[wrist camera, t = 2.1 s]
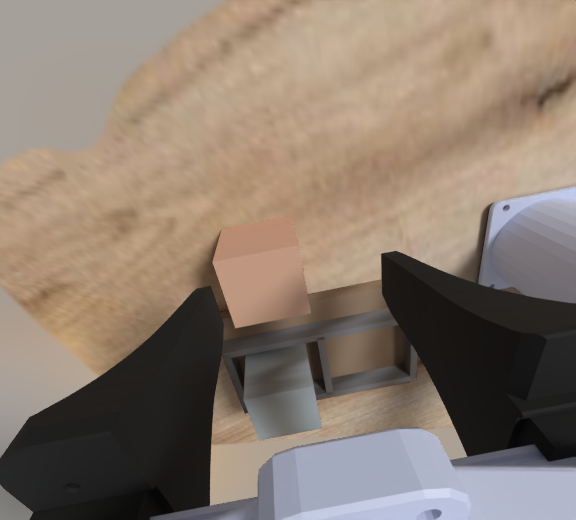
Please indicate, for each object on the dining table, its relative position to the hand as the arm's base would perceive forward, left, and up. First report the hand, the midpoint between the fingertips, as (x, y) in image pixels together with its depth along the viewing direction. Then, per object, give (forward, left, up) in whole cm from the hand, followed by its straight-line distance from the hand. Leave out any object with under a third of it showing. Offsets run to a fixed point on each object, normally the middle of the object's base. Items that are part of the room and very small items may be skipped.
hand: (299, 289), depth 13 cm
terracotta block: (+2, +3, -10) cm, 10 cm away
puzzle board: (-1, +13, -10) cm, 17 cm away
